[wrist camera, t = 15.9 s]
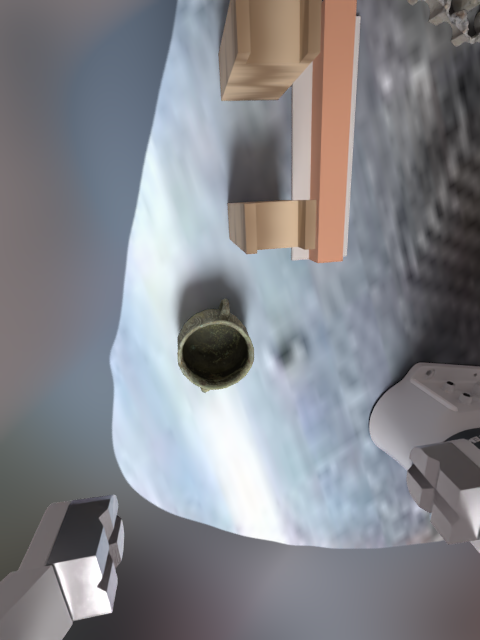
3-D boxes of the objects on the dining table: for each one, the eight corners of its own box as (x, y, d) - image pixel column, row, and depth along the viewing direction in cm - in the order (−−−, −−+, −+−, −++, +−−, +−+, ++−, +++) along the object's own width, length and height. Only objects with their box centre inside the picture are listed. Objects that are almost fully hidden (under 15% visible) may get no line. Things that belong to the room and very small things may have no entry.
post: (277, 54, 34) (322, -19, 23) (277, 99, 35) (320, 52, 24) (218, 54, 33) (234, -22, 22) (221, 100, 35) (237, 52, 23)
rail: (342, 15, 33) (356, -2, 30) (332, 257, 41) (342, 261, 39) (313, 15, 33) (325, -3, 30) (308, 258, 41) (317, 263, 38)
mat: (358, 18, 34) (360, 16, 34) (345, 255, 42) (346, 256, 42) (291, 17, 33) (293, 15, 33) (291, 259, 41) (292, 260, 41)
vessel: (233, 381, 46) (240, 407, 40) (168, 370, 44) (166, 396, 38) (257, 299, 42) (268, 314, 36) (188, 283, 40) (188, 297, 35)
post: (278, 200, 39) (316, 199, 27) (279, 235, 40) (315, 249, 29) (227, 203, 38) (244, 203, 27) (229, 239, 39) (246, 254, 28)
